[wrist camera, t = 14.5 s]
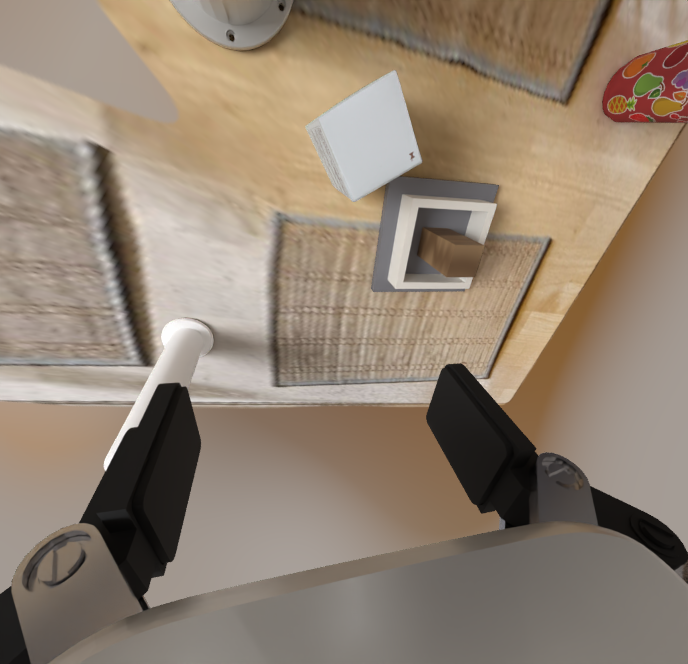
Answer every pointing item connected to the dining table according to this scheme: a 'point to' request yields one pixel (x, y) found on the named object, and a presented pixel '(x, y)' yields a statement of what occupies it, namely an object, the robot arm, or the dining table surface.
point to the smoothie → (650, 88)
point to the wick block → (450, 252)
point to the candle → (170, 367)
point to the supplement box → (366, 138)
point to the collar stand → (434, 212)
